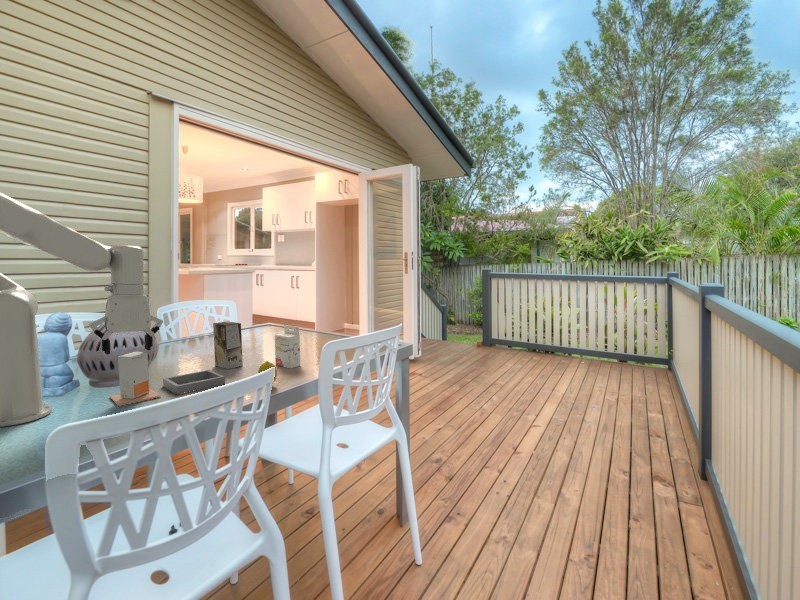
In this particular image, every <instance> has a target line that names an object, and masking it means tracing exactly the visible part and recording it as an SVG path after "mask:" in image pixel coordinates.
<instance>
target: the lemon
mask: <svg viewBox="0 0 800 600" xmlns="http://www.w3.org/2000/svg"><path fill="white" fill-rule="evenodd" d="M271 367H275V377H274V383H275V381H276V380H277V376H278V371H277V367H276V364H274V363H272V362H270V361H267V360H266V361H265V362H262V364H261V365H260V366H259V367H258V371H257V374H258V373H260V372H262V371H265V370H267V369H269V368H271Z"/></svg>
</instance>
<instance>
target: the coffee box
mask: <svg viewBox="0 0 800 600" xmlns="http://www.w3.org/2000/svg"><path fill="white" fill-rule="evenodd" d="M212 327H213V328H212V329H213V347H214V366H215V367H219V368H223V369H226V370H230V369H234V368H238V367H239V366H240V367H243V366H244V363H243V362H244V361H243V342H242V339H243V338H242V323H240V322H235V321H228V320H227V321H220V322H213V323H212Z"/></svg>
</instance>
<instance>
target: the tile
mask: <svg viewBox="0 0 800 600" xmlns="http://www.w3.org/2000/svg"><path fill="white" fill-rule="evenodd" d="M149 389H150V392H149V393H146V394H144V395H141V396H139V397H136V398H134V399H127V398H121V396H120V393H118V394H114V395H113V394H112V395H109V399H110V400H111V399H112V400H113V401H114V402H115V405H116V406H117V407H122V406H121V405H124V406H127V405H126V404H128V405H132V404H131V403H133V404H137V403H136V402H138V403H141V402H140V401H142V402H145V401H144V400H147V401H150V400H149V399H151V400H154V399H153V398H156V399H158V398H157V397H160V398H161V395H160V394H159V393H158V392H156V391H154V390H153V389H152V388H150V387H149ZM112 400H111V401H112ZM113 401H112V402H113ZM114 402H113V403H114Z"/></svg>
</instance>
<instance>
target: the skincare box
mask: <svg viewBox="0 0 800 600" xmlns="http://www.w3.org/2000/svg"><path fill="white" fill-rule="evenodd" d="M117 365H118V378H119V379H118V380H119V391H120V392H119V394H120V396H121V398H127V399H134V398H136V397H139V396H141V395H144V394H146V393H149V392H150V389H151V388H150V378H149V377H150V375H149V374H150V373H149V359H148V352H147V351H133V352H129V353H126V354H125V353H124V354H123V355H118V356H117ZM149 388H150V389H149Z"/></svg>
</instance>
